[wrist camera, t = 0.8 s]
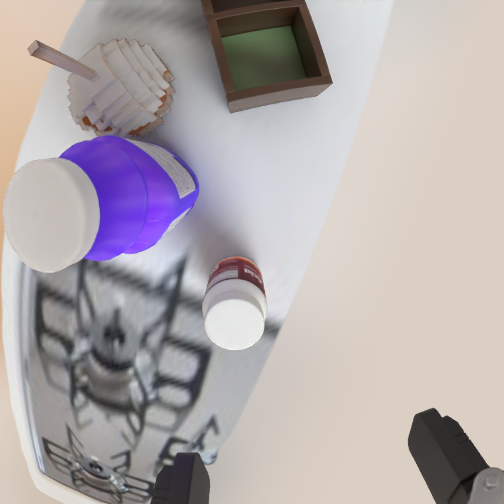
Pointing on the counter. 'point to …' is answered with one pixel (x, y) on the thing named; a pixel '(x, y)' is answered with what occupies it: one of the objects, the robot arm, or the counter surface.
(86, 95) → the decorative ornament
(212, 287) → the pill bottle
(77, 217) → the bottle
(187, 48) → the counter surface
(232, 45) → the organiser
